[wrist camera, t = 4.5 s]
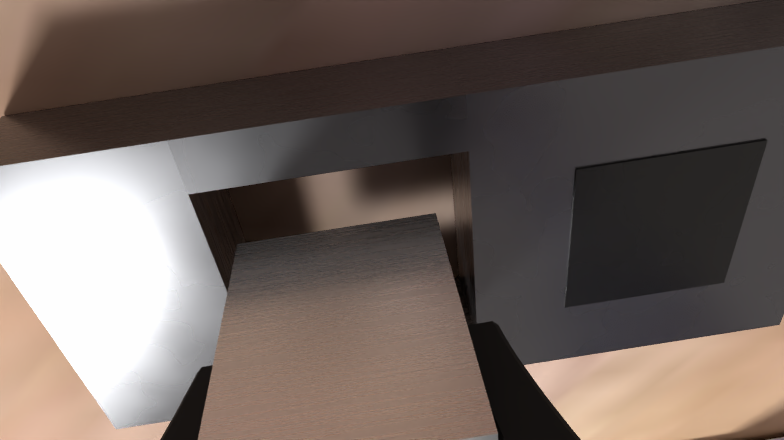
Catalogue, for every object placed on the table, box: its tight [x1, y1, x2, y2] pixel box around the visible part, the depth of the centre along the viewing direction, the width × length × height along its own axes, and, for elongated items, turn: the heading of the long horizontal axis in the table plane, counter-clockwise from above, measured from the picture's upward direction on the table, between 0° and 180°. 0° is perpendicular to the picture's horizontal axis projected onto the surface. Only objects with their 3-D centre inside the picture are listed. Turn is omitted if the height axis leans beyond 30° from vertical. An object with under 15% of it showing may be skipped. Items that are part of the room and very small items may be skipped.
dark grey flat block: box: [0, 0, 784, 429], centre depth 14 cm, size 18×8×2 cm, turn 97°
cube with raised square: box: [198, 213, 498, 440], centre depth 10 cm, size 4×4×5 cm
